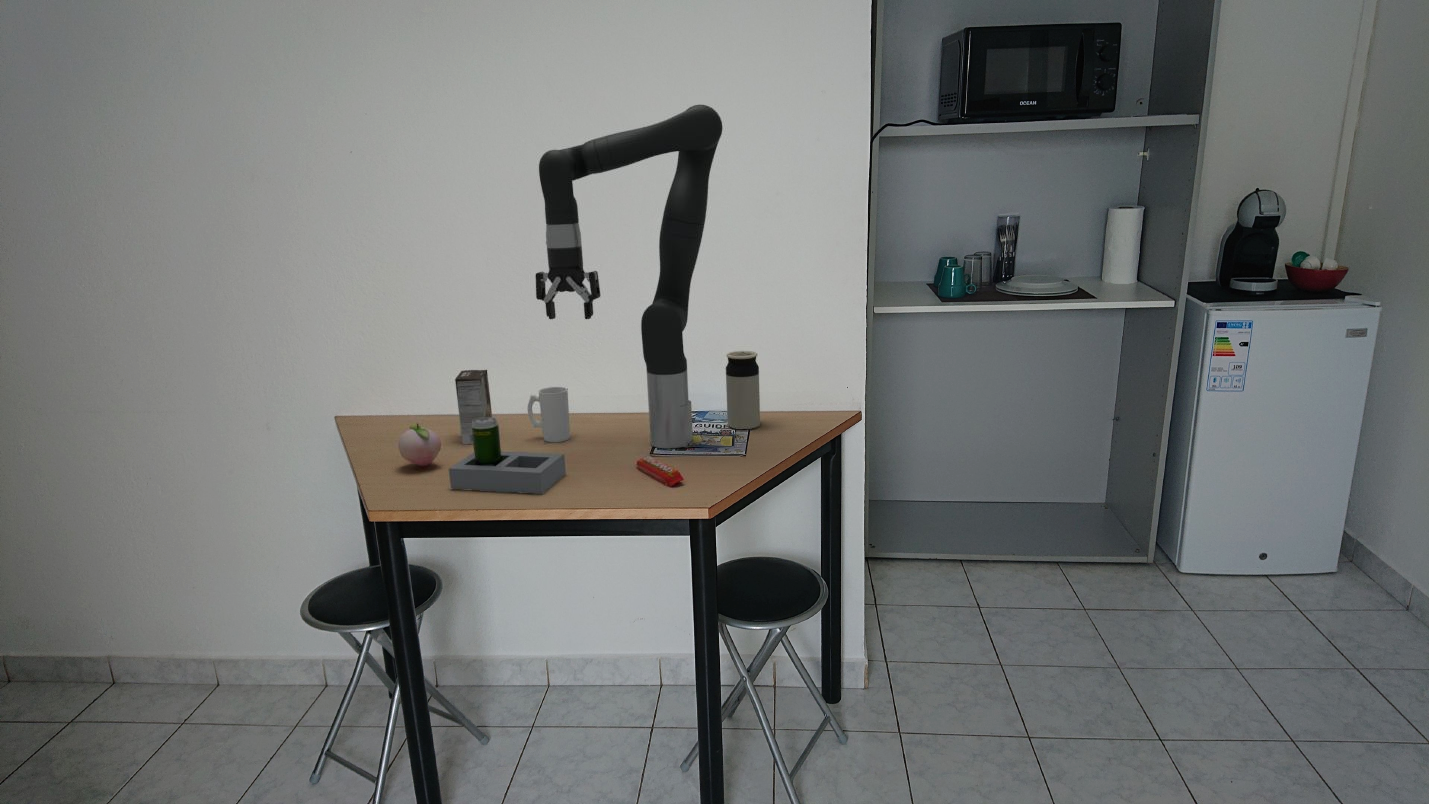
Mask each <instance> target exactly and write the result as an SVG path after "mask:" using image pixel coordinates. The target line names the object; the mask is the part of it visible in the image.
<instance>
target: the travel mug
mask: <svg viewBox="0 0 1429 804" xmlns="http://www.w3.org/2000/svg"><path fill="white" fill-rule="evenodd" d="M725 355H726V357H727V361H728V362H727V364H726V366H725V379H726V380H725V383H726V385H725V386H726V388H725V389H726V412H727V413H726V414H727V415H726V416H727V420H726V421H727V426H728V427H729V426H730V427H732V428H736V429H735V430H737V429H749V430H753V429H752V428H754V429H757V428H758V427H760V425H761V408H760V407H761V404H760V402H761V400H760V369H759V365H758V363H757V357H758V352H756V351H751V350H736V351H731V352H728V353H726V354H725ZM730 427H729V428H730ZM732 428H731V429H732Z"/></svg>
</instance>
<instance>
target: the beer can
mask: <svg viewBox="0 0 1429 804" xmlns="http://www.w3.org/2000/svg"><path fill="white" fill-rule="evenodd" d="M497 420H498V419H497V418H496V417H493V416H492V417H484V418H478V419H475V420H473V421H472V423H473V424H472V437H473V444H472V445H473V453H474V456H475V465H477V466H496V465H498V464H499V463H501V462H502V457H501V451H502V449H501V437H500V428H499V427H500V426H499V422H498V421H497Z"/></svg>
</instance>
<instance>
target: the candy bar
mask: <svg viewBox="0 0 1429 804" xmlns="http://www.w3.org/2000/svg"><path fill="white" fill-rule="evenodd" d="M635 465H636V466H637V468H638V470H640V471H641V472H643V473H644V474H646V475H647V476H649V477H651V478H653V479H655V480H657V481H658V480H659V482H660V481H661V482H660V483H662V482H663V483H662V484H663V485H666V484H667V485H666V486H668V485H673V486H676V485H677V484H678V483H681V482H682V481H684V476H682V474H681V472H680V471H679V470H677V469H676V468H674V467H672V466H670V465H668V464H666V463H665V462H662V461H660V460H659V459H657V458H655V457H653V456H651V455H646V456H643V457H641V458H639V459H637V461H636V464H635Z"/></svg>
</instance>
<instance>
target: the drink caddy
mask: <svg viewBox="0 0 1429 804" xmlns="http://www.w3.org/2000/svg"><path fill="white" fill-rule="evenodd" d="M501 457H502V462H501V463H499V464H498V465H496V466H477V465H475V456H474V452H472V453H471V454H469V455H468V456H466V457H465V458H463V459H461V460H459V461H458V462H456V463H455V464H453V465H452V466H450V467H449V468H448V474H449V482H450V489H451V488H452V489H451V490H454V489H471V490H470V491H472V490H480V491H479V492H490V491H496V492H495V493H509V492H517V493H516V494H519V493H518V492H522V493H521V494H527V493H535V494H534V495H543V494H544V493H546V492H547V491H548V490H549V489H550V488H551V487H553V486H554V485H555V484H556V483H557V482H558V481H560V480H561V479H562V478H563V477H565V475H566V462H565V461H566V459H565V454H564V453H550V452H547V453H546V452H523V451H502V450H501ZM547 489H548V490H547ZM546 490H547V491H546ZM543 492H544V493H543Z"/></svg>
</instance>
